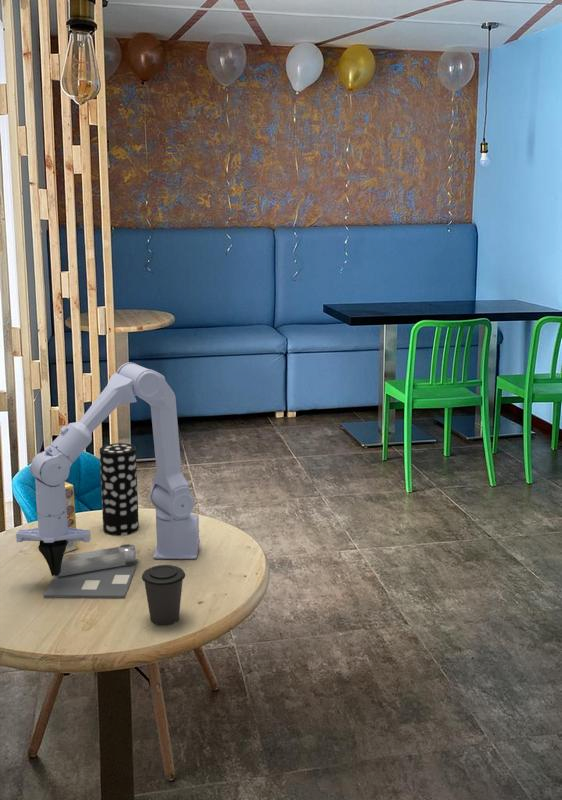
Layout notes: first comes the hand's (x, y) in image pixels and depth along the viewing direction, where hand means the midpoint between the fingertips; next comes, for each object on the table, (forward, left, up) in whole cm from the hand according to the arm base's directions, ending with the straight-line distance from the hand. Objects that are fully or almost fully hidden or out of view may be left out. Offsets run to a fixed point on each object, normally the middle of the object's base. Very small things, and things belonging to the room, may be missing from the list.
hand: (56, 573), depth 174 cm
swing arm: (-7, -6, -1) cm, 10 cm away
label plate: (-7, -2, -2) cm, 8 cm away
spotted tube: (-8, -29, -3) cm, 30 cm away
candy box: (+4, -19, -3) cm, 20 cm away
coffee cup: (-24, +14, -3) cm, 28 cm away
